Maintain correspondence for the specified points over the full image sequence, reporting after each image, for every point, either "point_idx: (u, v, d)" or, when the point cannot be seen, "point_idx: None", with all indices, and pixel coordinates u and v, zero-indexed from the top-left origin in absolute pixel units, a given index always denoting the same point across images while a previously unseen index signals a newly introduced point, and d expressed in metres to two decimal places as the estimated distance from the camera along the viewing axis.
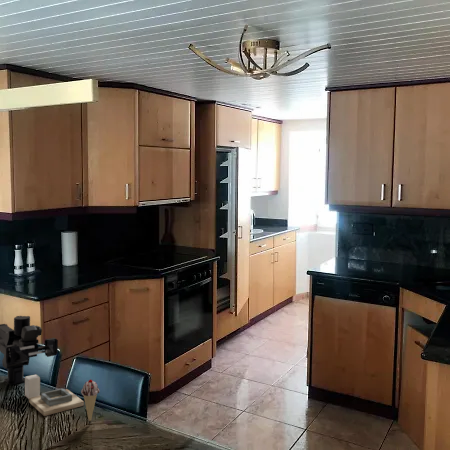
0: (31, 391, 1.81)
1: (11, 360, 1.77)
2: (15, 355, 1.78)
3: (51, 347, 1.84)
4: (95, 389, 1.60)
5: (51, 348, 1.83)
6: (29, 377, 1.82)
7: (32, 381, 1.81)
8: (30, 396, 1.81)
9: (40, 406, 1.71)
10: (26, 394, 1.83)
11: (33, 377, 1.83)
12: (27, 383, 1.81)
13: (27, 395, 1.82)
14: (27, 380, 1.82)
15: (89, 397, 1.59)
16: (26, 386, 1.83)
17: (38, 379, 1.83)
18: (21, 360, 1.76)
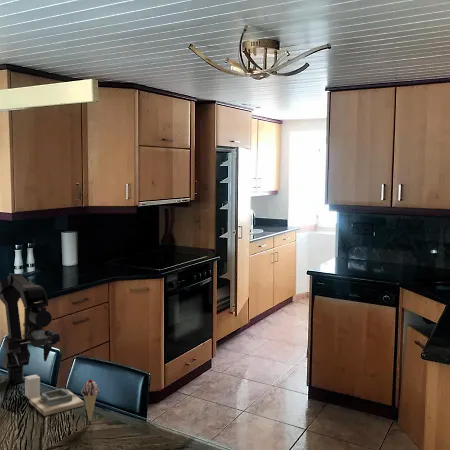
0: (31, 391, 1.81)
1: None
2: None
3: (48, 351, 1.85)
4: (95, 389, 1.60)
5: (48, 353, 1.85)
6: (29, 377, 1.82)
7: (32, 381, 1.81)
8: (30, 396, 1.81)
9: (40, 406, 1.71)
10: (26, 394, 1.83)
11: (33, 377, 1.83)
12: (27, 383, 1.81)
13: (27, 395, 1.82)
14: (27, 380, 1.82)
15: (89, 397, 1.59)
16: (26, 386, 1.83)
17: (38, 379, 1.83)
18: (15, 358, 1.80)
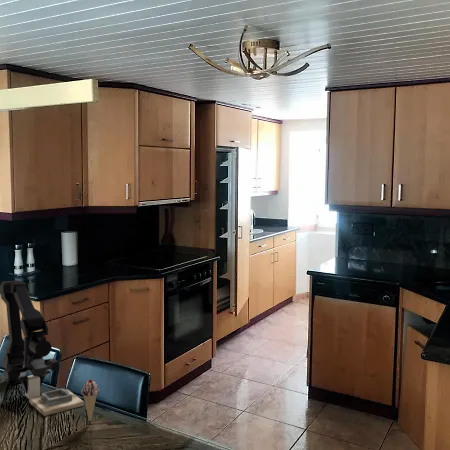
0: (31, 391, 1.81)
1: None
2: None
3: (42, 380, 1.84)
4: (95, 389, 1.60)
5: (41, 382, 1.84)
6: (29, 377, 1.82)
7: (32, 381, 1.81)
8: (30, 396, 1.81)
9: (40, 406, 1.71)
10: (26, 394, 1.83)
11: (33, 377, 1.83)
12: (27, 383, 1.81)
13: (27, 395, 1.82)
14: (27, 380, 1.82)
15: (89, 397, 1.59)
16: None
17: (38, 379, 1.83)
18: (22, 385, 1.82)
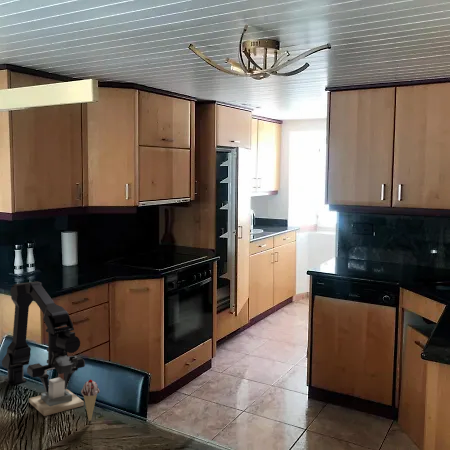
0: (56, 395, 1.75)
1: None
2: None
3: (69, 377, 1.79)
4: (95, 389, 1.60)
5: (68, 379, 1.79)
6: (53, 381, 1.76)
7: (57, 384, 1.75)
8: None
9: (40, 406, 1.71)
10: None
11: (57, 380, 1.76)
12: (52, 386, 1.75)
13: None
14: (51, 383, 1.75)
15: (89, 397, 1.59)
16: (50, 389, 1.76)
17: (63, 382, 1.76)
18: (43, 384, 1.75)
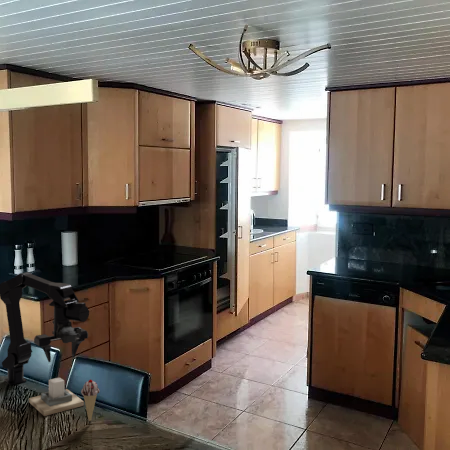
0: (56, 395, 1.75)
1: None
2: None
3: (77, 347, 1.90)
4: (95, 389, 1.60)
5: (76, 349, 1.90)
6: (53, 381, 1.76)
7: (56, 384, 1.75)
8: None
9: (40, 406, 1.71)
10: None
11: (57, 380, 1.76)
12: (51, 386, 1.75)
13: None
14: (51, 383, 1.75)
15: (89, 397, 1.59)
16: (50, 389, 1.76)
17: (62, 382, 1.76)
18: (45, 354, 1.85)
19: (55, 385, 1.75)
